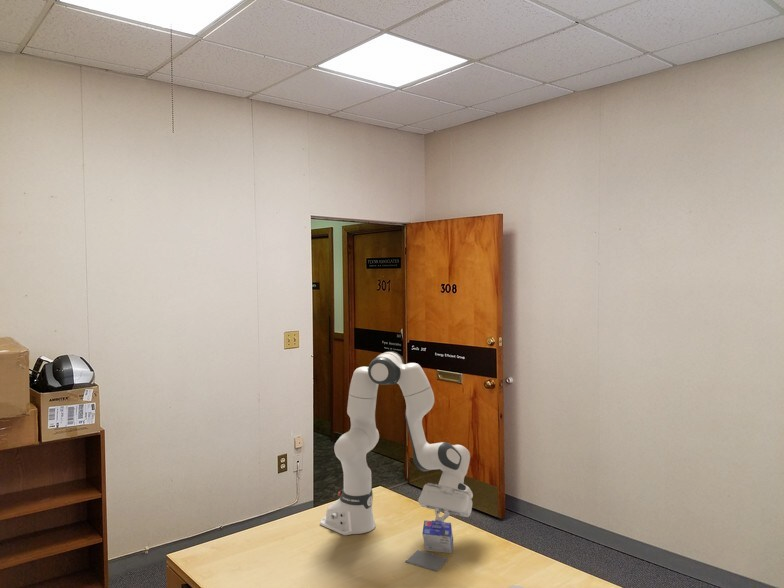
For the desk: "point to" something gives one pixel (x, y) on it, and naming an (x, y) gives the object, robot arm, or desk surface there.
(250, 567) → the desk surface
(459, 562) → the desk surface
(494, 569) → the desk surface
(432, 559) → the mat
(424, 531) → the ink cartridge box
